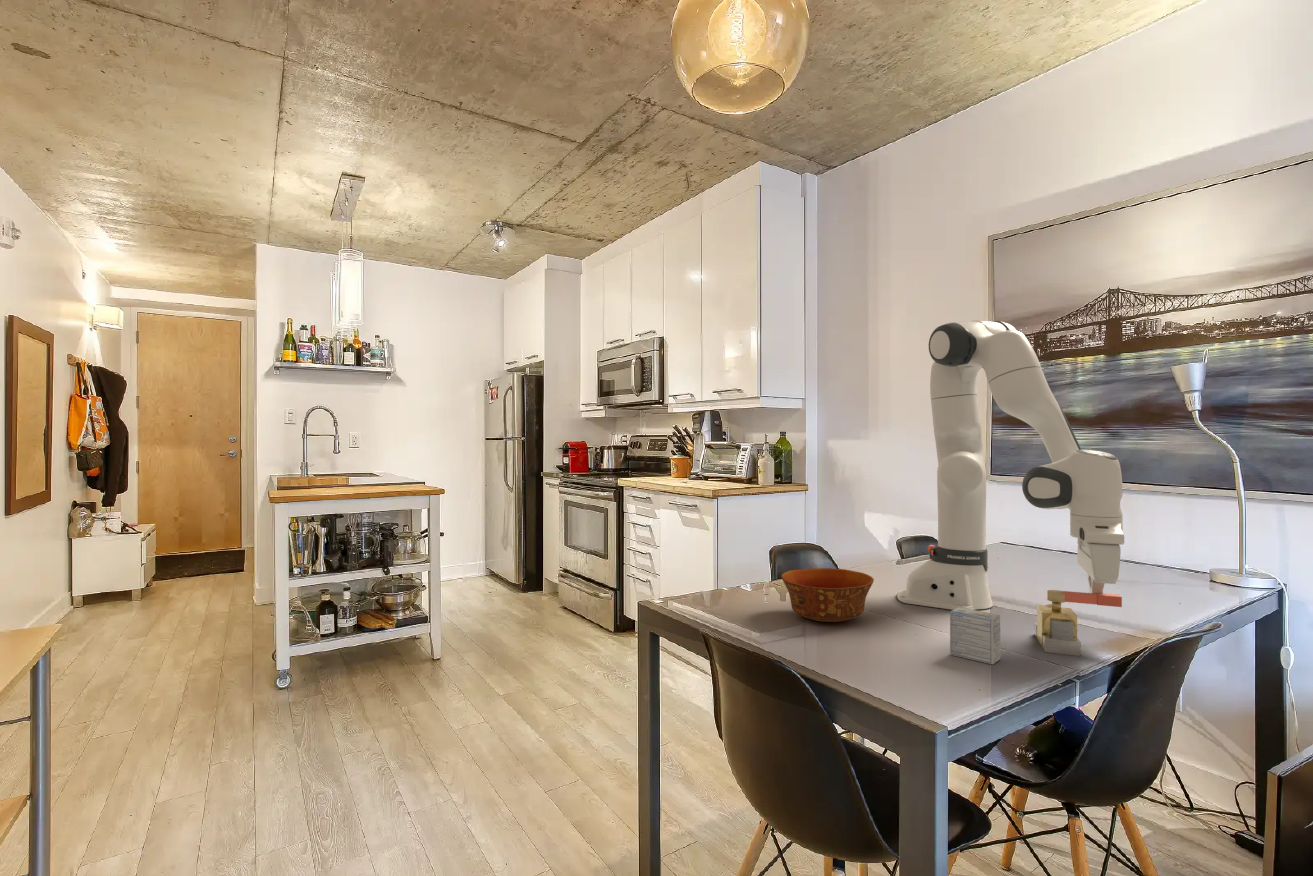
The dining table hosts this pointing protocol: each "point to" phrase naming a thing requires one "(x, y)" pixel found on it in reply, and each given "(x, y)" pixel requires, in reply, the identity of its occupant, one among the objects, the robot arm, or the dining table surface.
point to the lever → (1085, 598)
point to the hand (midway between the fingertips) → (1096, 596)
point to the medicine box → (975, 635)
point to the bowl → (827, 593)
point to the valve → (1057, 629)
